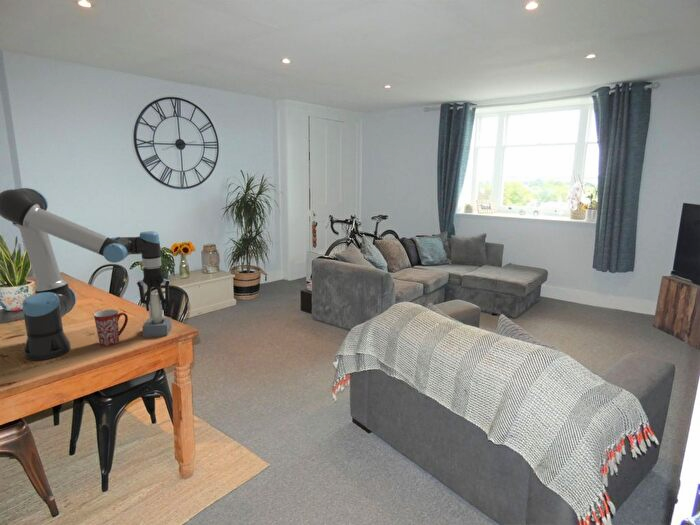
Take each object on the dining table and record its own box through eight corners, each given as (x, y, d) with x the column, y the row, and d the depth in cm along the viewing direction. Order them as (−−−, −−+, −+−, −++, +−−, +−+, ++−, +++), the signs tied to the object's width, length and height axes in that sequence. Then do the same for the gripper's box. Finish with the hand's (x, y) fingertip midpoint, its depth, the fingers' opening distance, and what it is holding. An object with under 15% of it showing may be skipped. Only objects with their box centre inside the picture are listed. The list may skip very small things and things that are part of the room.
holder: (167, 335, 188) (166, 325, 187) (143, 337, 186) (142, 326, 185) (171, 327, 197) (170, 317, 196) (148, 328, 195) (147, 318, 194)
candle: (161, 325, 189) (158, 293, 186) (151, 325, 188) (148, 294, 185) (163, 322, 193) (160, 291, 190) (153, 322, 192) (150, 291, 189)
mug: (100, 349, 173) (96, 318, 170) (94, 342, 179) (90, 312, 176) (133, 340, 182) (130, 311, 179) (126, 334, 188) (123, 306, 185)
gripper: (174, 264, 190) (178, 313, 195) (133, 265, 187) (138, 315, 192) (171, 268, 183) (175, 318, 188) (128, 269, 179) (134, 321, 185)
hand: (156, 317), depth 190 cm, fingers closed on candle, 4 cm apart
